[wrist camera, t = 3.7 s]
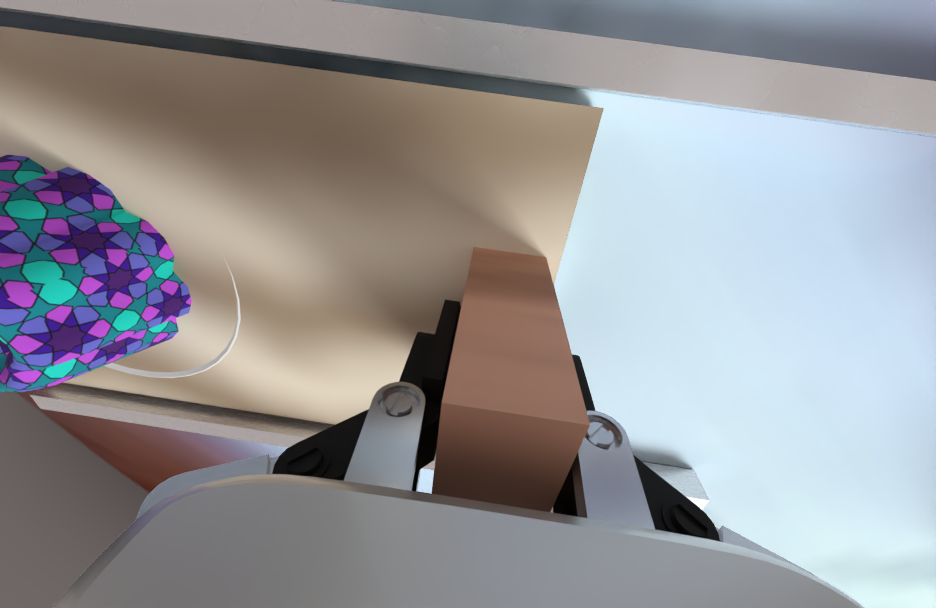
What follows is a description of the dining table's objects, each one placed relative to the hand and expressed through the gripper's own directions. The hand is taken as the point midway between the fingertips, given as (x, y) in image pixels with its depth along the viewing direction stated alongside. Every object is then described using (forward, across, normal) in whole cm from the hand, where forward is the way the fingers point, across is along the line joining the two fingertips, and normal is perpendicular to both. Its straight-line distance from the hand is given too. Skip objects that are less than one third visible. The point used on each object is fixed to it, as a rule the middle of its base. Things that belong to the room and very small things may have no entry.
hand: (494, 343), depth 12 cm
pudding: (+2, +16, 0) cm, 16 cm away
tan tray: (+2, +10, 0) cm, 11 cm away
